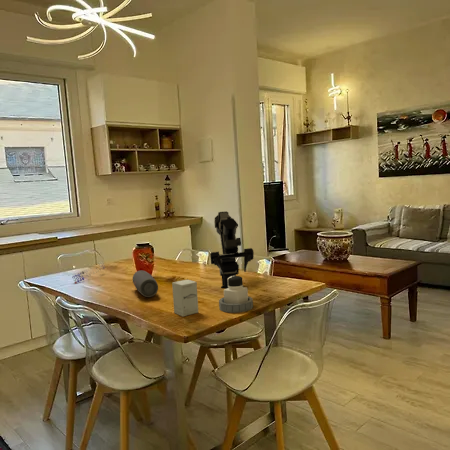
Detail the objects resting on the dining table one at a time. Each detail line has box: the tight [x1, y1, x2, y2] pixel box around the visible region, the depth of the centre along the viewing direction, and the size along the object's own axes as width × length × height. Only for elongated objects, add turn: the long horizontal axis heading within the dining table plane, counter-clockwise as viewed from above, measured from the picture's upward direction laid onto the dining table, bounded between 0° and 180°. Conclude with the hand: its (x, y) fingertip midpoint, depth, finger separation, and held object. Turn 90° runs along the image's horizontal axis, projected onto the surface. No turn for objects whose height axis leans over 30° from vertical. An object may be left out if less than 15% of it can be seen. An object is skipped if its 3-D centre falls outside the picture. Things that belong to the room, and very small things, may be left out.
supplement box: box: [171, 279, 199, 317], centre depth 171 cm, size 7×7×13 cm
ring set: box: [72, 261, 106, 285], centre depth 244 cm, size 25×12×12 cm, turn 146°
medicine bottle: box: [223, 275, 249, 304], centre depth 175 cm, size 7×7×12 cm
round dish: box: [218, 295, 254, 314], centre depth 175 cm, size 14×14×3 cm
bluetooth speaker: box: [132, 270, 159, 298], centre depth 205 cm, size 23×9×10 cm, turn 21°
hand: (234, 272), depth 182 cm, fingers open, 9 cm apart
